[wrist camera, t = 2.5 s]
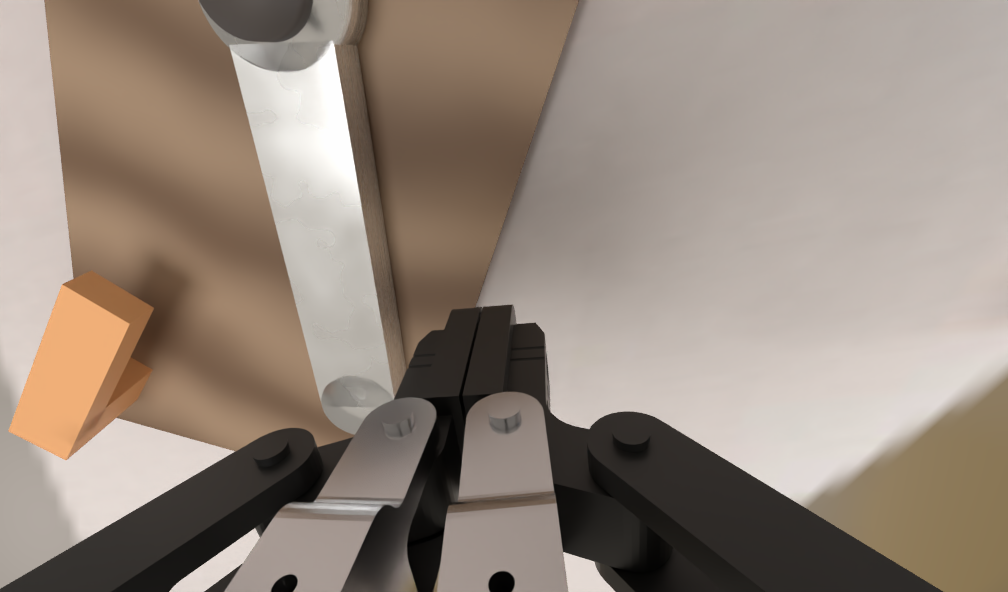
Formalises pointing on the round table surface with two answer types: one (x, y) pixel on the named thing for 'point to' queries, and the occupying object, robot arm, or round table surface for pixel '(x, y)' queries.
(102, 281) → the block
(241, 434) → the base plate
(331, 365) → the lever
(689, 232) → the round table surface
